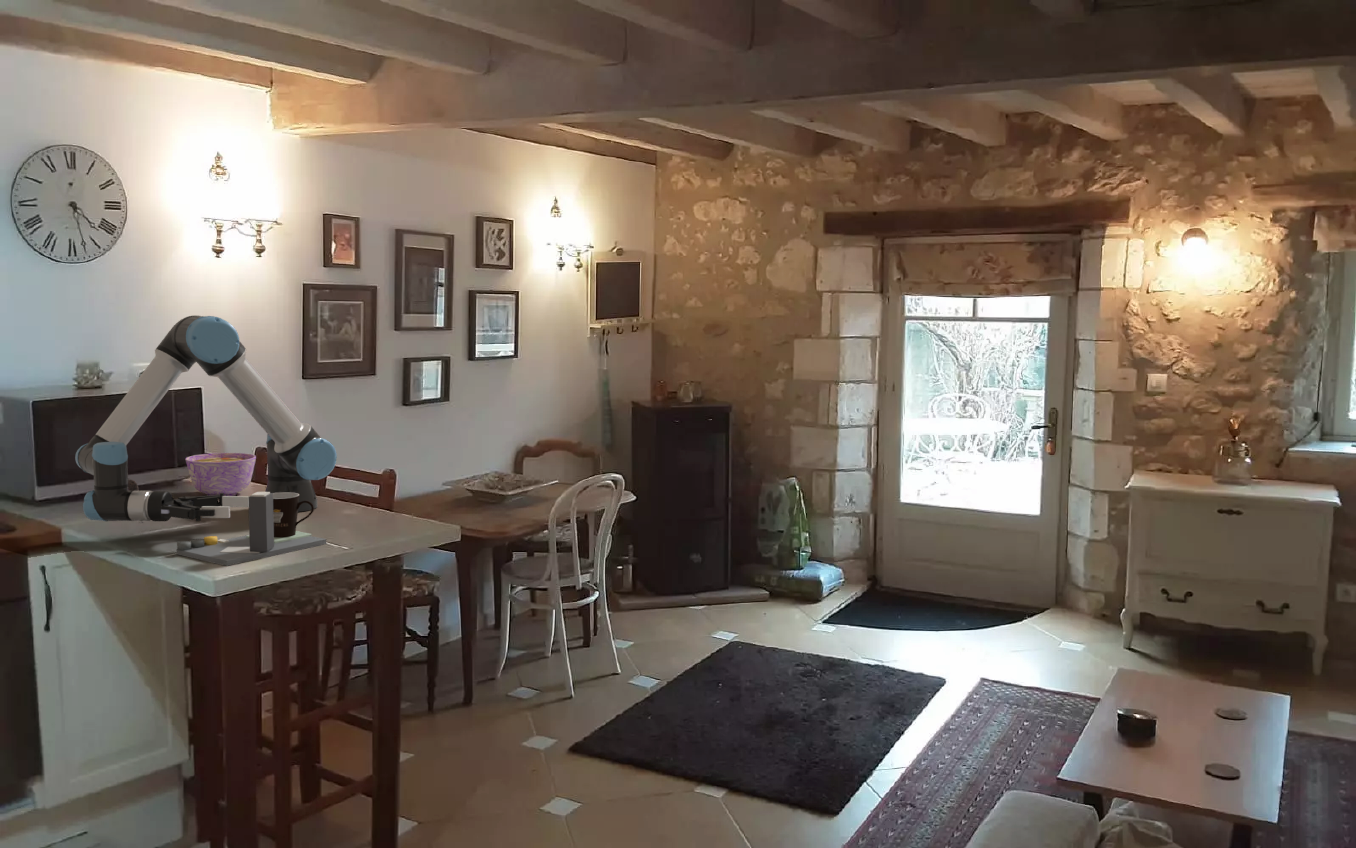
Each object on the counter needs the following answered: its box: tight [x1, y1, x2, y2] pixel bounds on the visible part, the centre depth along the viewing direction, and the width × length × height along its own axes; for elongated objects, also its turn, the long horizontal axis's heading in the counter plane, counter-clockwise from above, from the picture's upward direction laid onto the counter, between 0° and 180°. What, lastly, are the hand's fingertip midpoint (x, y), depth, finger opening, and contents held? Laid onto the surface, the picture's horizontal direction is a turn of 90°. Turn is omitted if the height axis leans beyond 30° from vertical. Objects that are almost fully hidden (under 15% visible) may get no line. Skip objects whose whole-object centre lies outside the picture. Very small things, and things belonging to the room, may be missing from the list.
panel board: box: [176, 534, 327, 567], centre depth 263 cm, size 28×19×3 cm, turn 148°
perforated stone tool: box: [128, 477, 140, 491], centre depth 320 cm, size 15×5×7 cm, turn 47°
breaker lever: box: [248, 491, 274, 552], centre depth 256 cm, size 4×5×13 cm
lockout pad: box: [246, 530, 313, 543], centre depth 272 cm, size 11×11×1 cm
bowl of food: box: [185, 452, 257, 496], centre depth 331 cm, size 20×20×12 cm
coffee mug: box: [273, 492, 315, 538], centre depth 271 cm, size 12×9×10 cm
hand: (239, 507), depth 270 cm, fingers open, 13 cm apart
